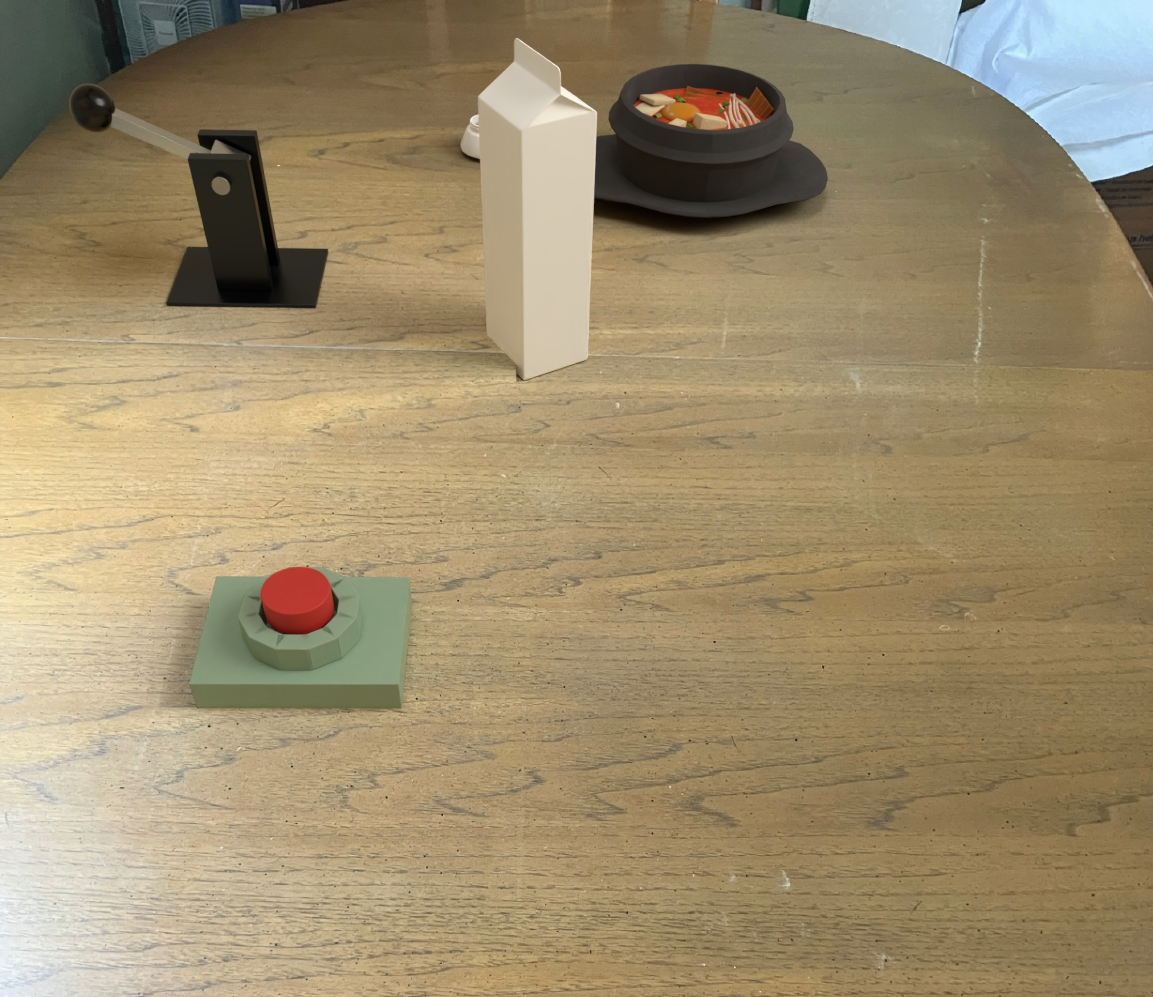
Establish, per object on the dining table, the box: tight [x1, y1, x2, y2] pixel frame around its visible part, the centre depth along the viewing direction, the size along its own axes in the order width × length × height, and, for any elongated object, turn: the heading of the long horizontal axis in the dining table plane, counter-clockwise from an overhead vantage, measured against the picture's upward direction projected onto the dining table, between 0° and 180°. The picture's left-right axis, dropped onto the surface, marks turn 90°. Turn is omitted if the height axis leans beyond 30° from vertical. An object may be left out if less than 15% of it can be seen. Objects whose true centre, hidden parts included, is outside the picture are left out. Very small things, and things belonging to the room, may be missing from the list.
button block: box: [188, 566, 413, 709], centre depth 69 cm, size 12×9×4 cm
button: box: [260, 566, 334, 635], centre depth 67 cm, size 4×4×2 cm
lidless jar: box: [460, 114, 480, 160], centre depth 113 cm, size 5×3×5 cm
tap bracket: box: [165, 128, 329, 309], centre depth 92 cm, size 12×9×12 cm
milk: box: [477, 37, 598, 381], centre depth 83 cm, size 6×6×22 cm
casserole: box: [594, 63, 829, 219], centre depth 107 cm, size 25×19×8 cm
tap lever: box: [68, 83, 251, 161], centre depth 87 cm, size 13×3×3 cm, turn 91°
